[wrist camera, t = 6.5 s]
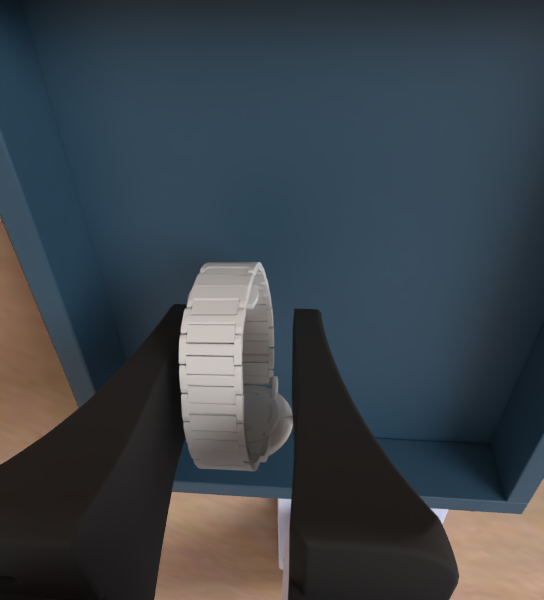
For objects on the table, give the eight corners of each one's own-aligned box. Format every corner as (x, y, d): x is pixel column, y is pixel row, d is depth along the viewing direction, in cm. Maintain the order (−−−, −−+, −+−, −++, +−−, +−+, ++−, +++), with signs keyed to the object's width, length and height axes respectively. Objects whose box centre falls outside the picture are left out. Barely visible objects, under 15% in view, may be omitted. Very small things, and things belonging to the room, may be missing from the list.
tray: (500, 443, 22) (522, 515, 19) (133, 423, 23) (111, 488, 20) (743, -82, 10) (871, -64, 8) (-22, -73, 11) (-113, -55, 9)
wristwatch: (216, 357, 17) (180, 501, 13) (187, 228, 14) (127, 369, 10) (305, 359, 17) (293, 508, 13) (295, 226, 13) (275, 372, 10)
